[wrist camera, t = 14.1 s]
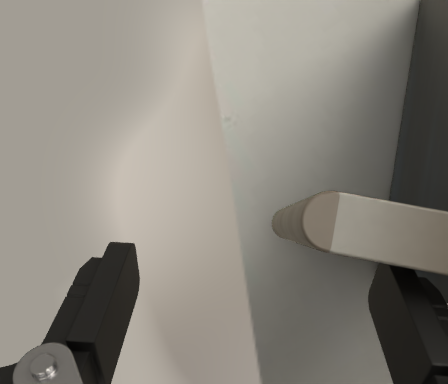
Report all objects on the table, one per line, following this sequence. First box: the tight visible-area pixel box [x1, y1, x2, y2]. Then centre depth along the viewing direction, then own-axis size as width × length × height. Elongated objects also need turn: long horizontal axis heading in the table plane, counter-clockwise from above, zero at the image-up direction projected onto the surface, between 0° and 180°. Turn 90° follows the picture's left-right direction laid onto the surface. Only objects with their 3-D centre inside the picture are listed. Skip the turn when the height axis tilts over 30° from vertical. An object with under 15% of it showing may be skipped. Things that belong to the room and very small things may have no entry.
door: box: [272, 0, 448, 303], centre depth 15 cm, size 8×18×16 cm, turn 169°
